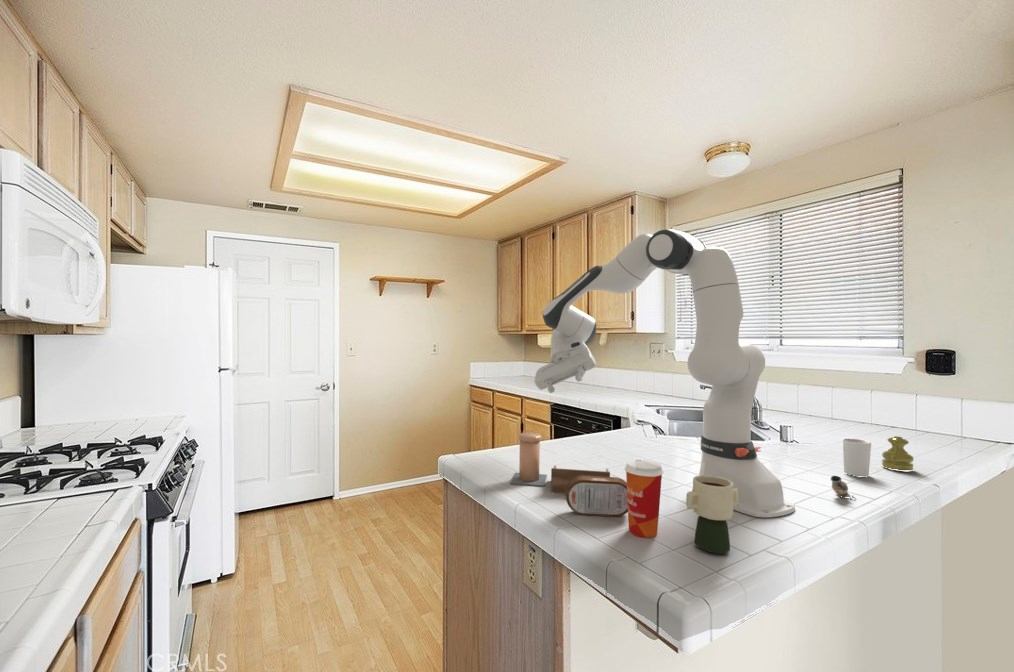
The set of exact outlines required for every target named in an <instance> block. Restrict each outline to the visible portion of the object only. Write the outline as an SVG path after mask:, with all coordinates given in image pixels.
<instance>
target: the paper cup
mask: <svg viewBox="0 0 1014 672" xmlns="http://www.w3.org/2000/svg"><path fill="white" fill-rule="evenodd" d="M624 471H625V474H626V482H627V502H628V512H627V519H628V521H627V522H628V523H627V524H628V530H629V533H631V534H632V535H633V536H636V537H638V538H647V539H650V538H654V537H656V536H657V534H658V528H659V519H660V517H659V516H660V514H659V513H660V503H661V492H662V491H661V490H662V477H663V476H662V475H664V470H663V468H662V465H661V464H660V463H658V462H657V461H653V460H649V459H643V460H642V459H635V460H634V459H631V460H628V461H627V462H626V466H625V467H624Z"/></svg>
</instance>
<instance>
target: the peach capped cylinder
mask: <svg viewBox="0 0 1014 672" xmlns="http://www.w3.org/2000/svg"><path fill="white" fill-rule="evenodd" d="M517 440H518V441H519V461H518V462H519V464H518V466H519V467H518V469H519V471H518V473H519V479H520V480H522V481H526V482H534V481H538V480H539V474H540V457H541V456H540V455H541V454H540V452H541V451H540V450H541V449H540V448H541V447H540V445H541V444H540V442H541V441H542V434H540V433H537V432H522V433H518V434H517Z"/></svg>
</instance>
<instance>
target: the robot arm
mask: <svg viewBox="0 0 1014 672" xmlns="http://www.w3.org/2000/svg"><path fill="white" fill-rule="evenodd" d="M657 269H660V270H664V271H667V272H669V273H671V274H676V275H682V276H689V279H690V282H691V289H692V295H693V302H694V310H695V318H696V330H695V340H694V346H693V347H692V348H693V349H692V350H691V352H690V353H689V355H688V357H687V369H688V372H689V374H690V375H691V377H692V378H693V379H694V380H696V381H697V382H699V383H701V384H704V385H709V386H711V390H710V392H709V395H708V398H707V399H706V401H705V402H704V405H703V409H702V435H701V437H700V450H701V459H700V467H699V473H698V476H700V475H709V476H717V477H721V478H725V479H727V480H730V481H731V482H733V487H734V488H735V489H737V490H738V505H736V506H733V511H736V512H739V513H741V514H742V513H743V514H745V515H749V516H752V517H754V518H777V517H782V516H786V515H789V514H792V513H793V512H795V511H796V509H795V504H794V503H793V502H791V501H789V500H786V499H784V490H783V489H784V488H783V485H782V483H781V480H779V478H778V477H777V476H776V475H775V474H774V473H773V472H772V471H770V470H769V468H767V466H765V464H764V463H763V462H761V460H759V458H758V455H757V454H758V452H759V453H760V452H762V451H761V450H760V449H761V448H762V447H761V446H756V447H755V445H754V443H753V441H752V440H751V436H752V435H751V434H752V431H751V429H752V412H753V404H754V400H755V396H756V392H757V388H758V384H759V379H760V377H761V375H762V373H763V372H764V370H765V367H766V358H765V355H764V352H762V350H760V348H758V347H757V346H755V345H753V344H750V343H748V342H746V341H739V335H740V327H741V322H742V320H743V318H744V308H743V301H742V295H741V289H740V285H739V280H738V275H737V271H736V269H735V264H734V262H733V259H732V257H731V254H730V253H729V251H728V250H726V249H725V248H723V247H718V246H711V247H707V246H706V244H705V243H704V242H703V241H702V240H700V239H698V238H695V237H694V236H693V235H690V234H689V233H686V232H682V231H679V230H676V229H673V228H672V229H671V228H670V229H669V228H667V229H661V230H658V231H657V232H654V233H653V234H651V233H641V234H639V235H637V236H636V237H635V238H634V239H633V240H631V241H630V242H629V243H628V244H627V245H626V246H625V247H624V248H623V249H622V250H621V251H619V253H618V254H617V255H616V257H614V259H612V260H610V262H607V263H605V264H602V265H595V266H593V267H592V268H590V269H589V270H588V271H586V272H584V274H581V276H580V277H579V278H577V280H575V281H574V282H573V283H572V284H571V285H570V286H569V287H567V288H566V289H565V290H564V291H563V292H561V293H560V294H559V295H557V296H556V297H555V298H553V299H552V300H551V301H549V302H548V303H547V304H546V305H545V307H544V309H543V311H542V319H543V322H544V324H545V326H546V327H548V328H551V329H552V330H553V331H552V333H551V338H550V363H547V364H546V365H543V366H541V367H539V368H538V369H537V371H536V372H535V376H534V384H535V386H536V387H537V388H538V389H539V390H541V391H542V390H545V389H547V391H548V392H549V394H552V393H554V392H555V390H556V389H555V387H554V385H557V384H559V383H561V382H564V381H566V380H569V379H571V378H575V380H576V382H580V381H583V377H584V375H585V374H586V372H587V371H590V370H592V369H594V368H595V367H596V365H597V362H596V359H595V357H594V355H593V354H592V352H591V350H590V349H589V347H588V345H589V344H590V343H591V342H592V341H593V340H594V338H595V336H596V335H597V334H596V333H597V321H596V319H595V318H594V317H593V316H591V315H589V314H587V313H586V312H584V311H582V310H580V309H579V308H577V307H575V306H574V305H573V304H574V303H575V302H577V301H578V300H579V299H581V298H582V297H583V296H584V295H585V294H587V293H588V292H591V291H603V292H604V291H606V292H609V293H613V294H619V295H620V294H628V293H632V292H633V291H635V290H636V289H637V288H639V287H640V286H641V285H642V284H643V282H644V281H646V279H647V278H648V277H649V276H650V275H651V274H652V273H653V272H654V271H655V270H657Z"/></svg>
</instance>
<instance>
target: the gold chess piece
mask: <svg viewBox="0 0 1014 672" xmlns="http://www.w3.org/2000/svg"><path fill="white" fill-rule="evenodd" d="M887 442H889V443H890V445H891V448H890V447H889V449H887V450H886V451H883V452H882V453H881V456H882V457H883V458H882V459H881V466H882V465H883V466H884V467H887V468H891V469H898V470H913V471H914V463H913V462H914V459H915V458H914V456H913V455H912V454H909V453H908V451H906V449H905V448H904V447H905V446H906V445H909V441H908V440H907V439H906V438H903V437H902V436H897V435H894V436H893V437H890V438H889V437H888V438H887Z"/></svg>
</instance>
